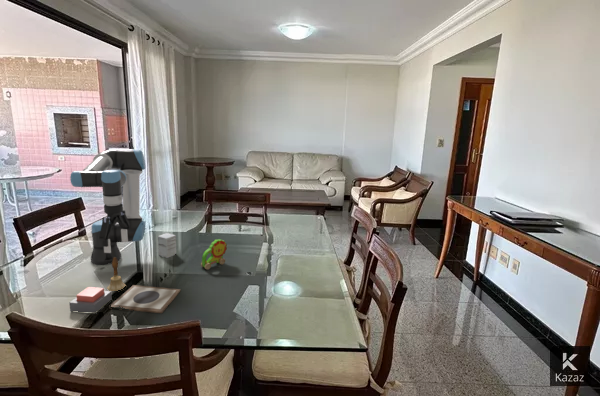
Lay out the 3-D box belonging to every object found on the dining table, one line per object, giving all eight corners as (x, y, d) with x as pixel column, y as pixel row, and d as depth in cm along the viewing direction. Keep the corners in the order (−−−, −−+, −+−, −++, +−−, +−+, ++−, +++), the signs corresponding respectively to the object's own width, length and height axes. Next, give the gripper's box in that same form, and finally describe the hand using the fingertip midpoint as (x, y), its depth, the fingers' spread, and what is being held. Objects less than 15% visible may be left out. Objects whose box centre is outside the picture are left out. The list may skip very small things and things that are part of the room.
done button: (77, 301, 138) (76, 295, 137) (88, 292, 145) (88, 286, 144) (93, 303, 137) (92, 296, 137) (104, 294, 144) (103, 288, 144)
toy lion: (205, 271, 180) (205, 245, 176) (200, 267, 183) (199, 242, 180) (228, 262, 192) (228, 238, 188) (222, 259, 195) (223, 236, 192)
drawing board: (108, 308, 141) (108, 306, 141) (133, 286, 160) (133, 284, 159) (162, 313, 140) (161, 311, 140) (180, 290, 158) (180, 288, 158)
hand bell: (121, 281, 163) (119, 252, 159) (129, 287, 158) (127, 257, 154) (103, 287, 157) (101, 257, 153) (110, 294, 152) (108, 263, 148)
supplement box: (158, 255, 195) (157, 235, 192) (168, 251, 202) (167, 232, 199) (166, 258, 192) (166, 238, 189) (176, 254, 198) (176, 234, 195)
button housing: (70, 311, 137) (69, 302, 136) (88, 298, 148) (87, 289, 147) (95, 314, 136) (94, 304, 135) (111, 300, 147) (111, 291, 146)
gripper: (103, 211, 136) (107, 258, 141) (135, 198, 161) (138, 238, 165) (86, 210, 137) (91, 256, 141) (121, 197, 161) (124, 237, 166)
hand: (116, 246), depth 154 cm, fingers open, 13 cm apart
